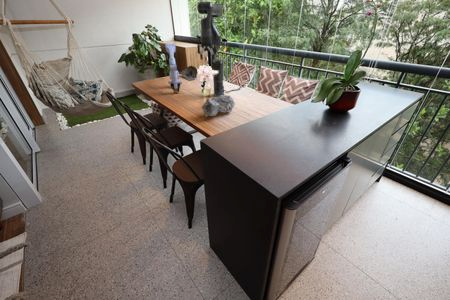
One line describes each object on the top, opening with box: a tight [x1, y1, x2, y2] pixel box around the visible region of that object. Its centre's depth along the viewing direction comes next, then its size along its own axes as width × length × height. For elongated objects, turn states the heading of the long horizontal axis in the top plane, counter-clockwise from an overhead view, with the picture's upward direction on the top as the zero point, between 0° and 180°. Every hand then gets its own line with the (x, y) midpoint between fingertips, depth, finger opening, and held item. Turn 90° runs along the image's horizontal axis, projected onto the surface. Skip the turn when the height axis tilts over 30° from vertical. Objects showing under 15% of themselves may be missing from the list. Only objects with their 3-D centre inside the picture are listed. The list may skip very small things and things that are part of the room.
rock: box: [200, 95, 236, 118], centre depth 162 cm, size 17×17×28 cm
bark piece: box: [178, 65, 198, 81], centre depth 260 cm, size 19×8×30 cm
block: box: [172, 88, 180, 94], centre depth 209 cm, size 4×5×4 cm
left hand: (176, 90), depth 210 cm, fingers closed on block, 4 cm apart
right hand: (207, 59), depth 155 cm, fingers open, 8 cm apart
